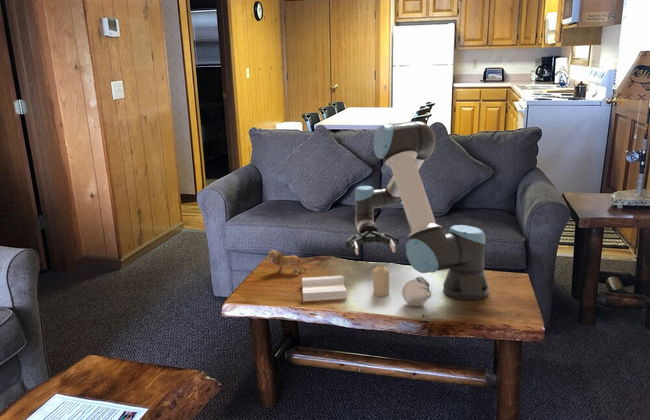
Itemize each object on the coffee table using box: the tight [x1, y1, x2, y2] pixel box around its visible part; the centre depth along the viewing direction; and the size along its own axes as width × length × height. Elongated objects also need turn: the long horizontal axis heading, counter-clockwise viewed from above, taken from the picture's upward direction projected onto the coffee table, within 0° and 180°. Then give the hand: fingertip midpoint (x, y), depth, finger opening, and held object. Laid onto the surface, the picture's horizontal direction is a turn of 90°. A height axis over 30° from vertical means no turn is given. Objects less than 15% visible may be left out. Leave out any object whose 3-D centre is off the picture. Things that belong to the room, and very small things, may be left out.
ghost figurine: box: [401, 276, 432, 307], centre depth 177 cm, size 9×10×10 cm
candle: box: [372, 264, 390, 297], centre depth 187 cm, size 6×6×10 cm
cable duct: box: [301, 275, 348, 302], centre depth 191 cm, size 15×13×3 cm
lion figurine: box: [268, 249, 308, 274], centre depth 210 cm, size 15×5×9 cm, turn 87°
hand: (375, 250), depth 195 cm, fingers open, 13 cm apart
